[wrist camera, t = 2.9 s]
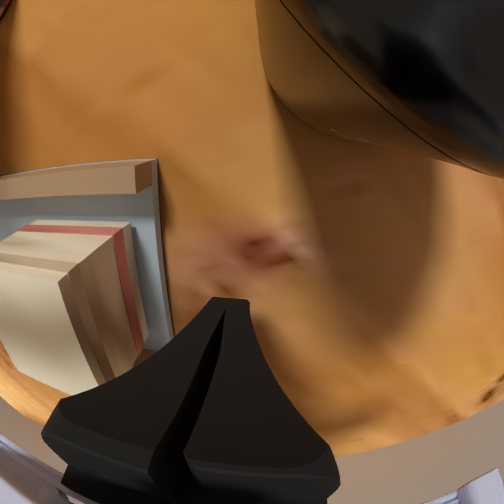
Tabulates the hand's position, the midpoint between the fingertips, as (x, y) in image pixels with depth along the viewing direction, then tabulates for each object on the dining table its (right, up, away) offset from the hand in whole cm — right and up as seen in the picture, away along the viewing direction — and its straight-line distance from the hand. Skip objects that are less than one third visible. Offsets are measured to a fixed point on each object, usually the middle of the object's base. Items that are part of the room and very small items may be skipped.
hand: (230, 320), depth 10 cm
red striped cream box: (-7, +1, +2) cm, 8 cm away
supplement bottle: (+5, +10, -2) cm, 11 cm away
